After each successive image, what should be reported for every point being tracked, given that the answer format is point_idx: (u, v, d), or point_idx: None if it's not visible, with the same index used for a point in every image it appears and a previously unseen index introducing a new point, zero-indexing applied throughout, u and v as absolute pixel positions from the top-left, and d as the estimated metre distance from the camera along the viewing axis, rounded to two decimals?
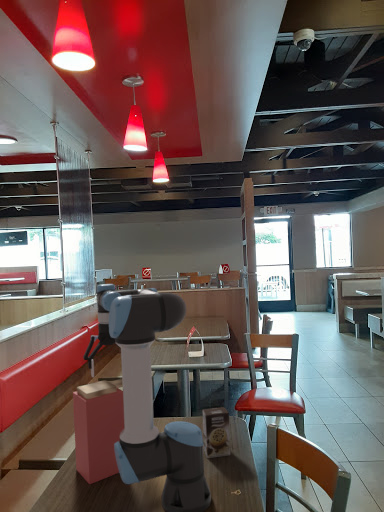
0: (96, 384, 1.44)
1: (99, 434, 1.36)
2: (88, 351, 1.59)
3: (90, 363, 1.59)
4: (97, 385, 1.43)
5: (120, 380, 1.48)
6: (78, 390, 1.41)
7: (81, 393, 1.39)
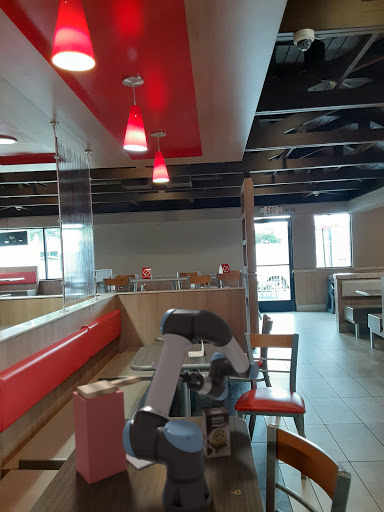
0: (96, 384, 1.44)
1: (99, 434, 1.36)
2: None
3: None
4: (97, 385, 1.43)
5: (120, 380, 1.48)
6: (78, 390, 1.41)
7: (81, 393, 1.39)
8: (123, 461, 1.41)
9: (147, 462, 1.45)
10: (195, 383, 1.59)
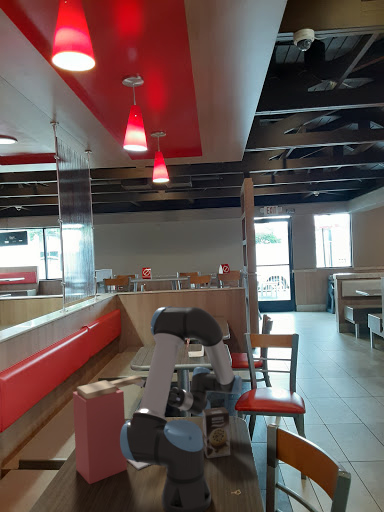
0: (96, 384, 1.44)
1: (99, 434, 1.36)
2: None
3: None
4: (97, 385, 1.43)
5: (120, 380, 1.48)
6: (78, 390, 1.41)
7: (81, 393, 1.39)
8: (123, 461, 1.41)
9: None
10: (174, 399, 1.54)
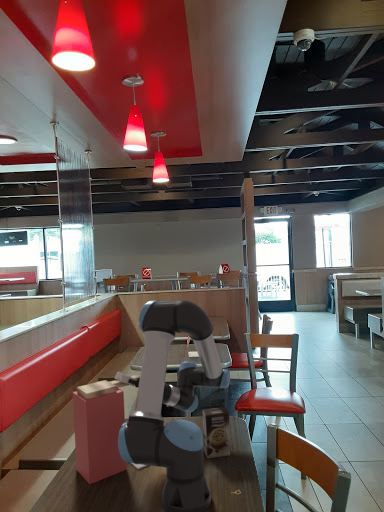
0: (96, 384, 1.44)
1: (99, 434, 1.36)
2: None
3: None
4: (97, 385, 1.43)
5: None
6: (78, 390, 1.41)
7: (81, 393, 1.39)
8: (123, 461, 1.41)
9: None
10: None
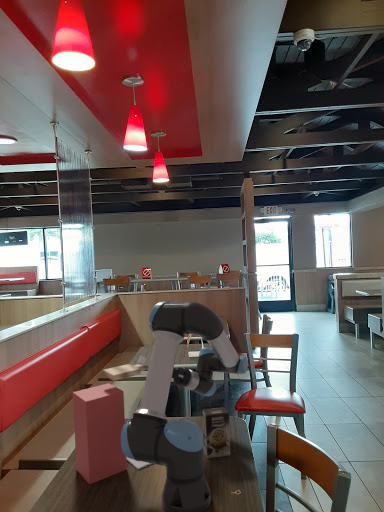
0: (121, 367, 1.50)
1: (99, 434, 1.36)
2: None
3: None
4: (122, 368, 1.49)
5: (143, 364, 1.54)
6: (104, 373, 1.47)
7: (107, 375, 1.45)
8: (123, 461, 1.41)
9: None
10: (175, 375, 1.56)
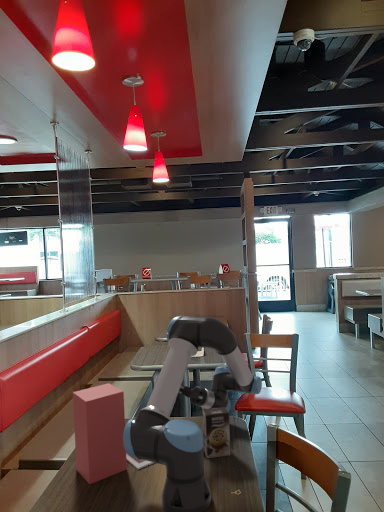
0: None
1: (99, 434, 1.36)
2: None
3: None
4: None
5: None
6: None
7: None
8: (123, 461, 1.41)
9: (147, 462, 1.45)
10: (196, 398, 1.60)
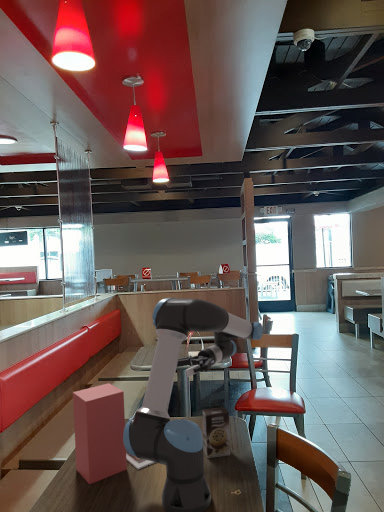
0: None
1: (99, 434, 1.36)
2: (178, 359, 1.70)
3: None
4: None
5: None
6: None
7: None
8: (123, 461, 1.41)
9: (147, 462, 1.45)
10: (211, 365, 1.61)
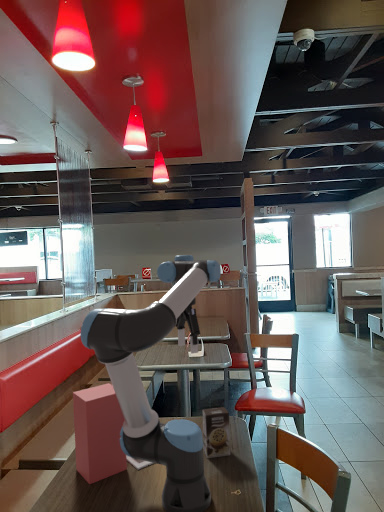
0: None
1: (99, 434, 1.36)
2: (176, 319, 1.62)
3: None
4: None
5: None
6: None
7: None
8: (123, 461, 1.41)
9: (147, 462, 1.45)
10: (195, 317, 1.48)
